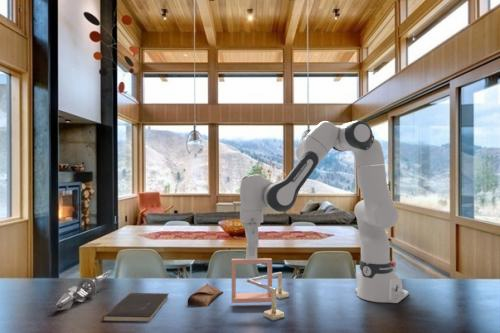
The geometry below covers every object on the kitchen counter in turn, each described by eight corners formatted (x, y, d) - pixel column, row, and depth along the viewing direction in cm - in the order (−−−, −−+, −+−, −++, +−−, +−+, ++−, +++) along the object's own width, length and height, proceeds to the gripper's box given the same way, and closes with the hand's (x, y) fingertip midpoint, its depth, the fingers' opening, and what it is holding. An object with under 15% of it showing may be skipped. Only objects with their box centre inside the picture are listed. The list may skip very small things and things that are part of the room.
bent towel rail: (280, 293, 145) (280, 270, 145) (315, 306, 130) (315, 280, 130) (239, 304, 132) (239, 278, 132) (273, 320, 117) (273, 291, 117)
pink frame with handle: (231, 297, 133) (231, 244, 134) (270, 296, 134) (270, 243, 134) (231, 303, 127) (231, 247, 128) (272, 302, 128) (272, 247, 128)
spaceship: (121, 267, 156) (106, 259, 157) (69, 302, 121) (50, 293, 122) (116, 282, 157) (100, 275, 158) (62, 322, 122) (43, 312, 123)
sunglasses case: (208, 307, 129) (200, 290, 130) (193, 315, 130) (184, 298, 131) (224, 292, 146) (216, 277, 147) (210, 299, 148) (203, 284, 149)
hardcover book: (168, 299, 139) (168, 293, 139) (150, 323, 116) (150, 316, 116) (128, 298, 139) (128, 292, 139) (102, 322, 116) (102, 315, 116)
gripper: (262, 220, 121) (262, 261, 121) (258, 214, 142) (258, 249, 141) (244, 220, 121) (244, 261, 120) (242, 214, 141) (242, 249, 141)
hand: (251, 254), depth 131 cm, fingers closed on pink frame with handle, 3 cm apart
